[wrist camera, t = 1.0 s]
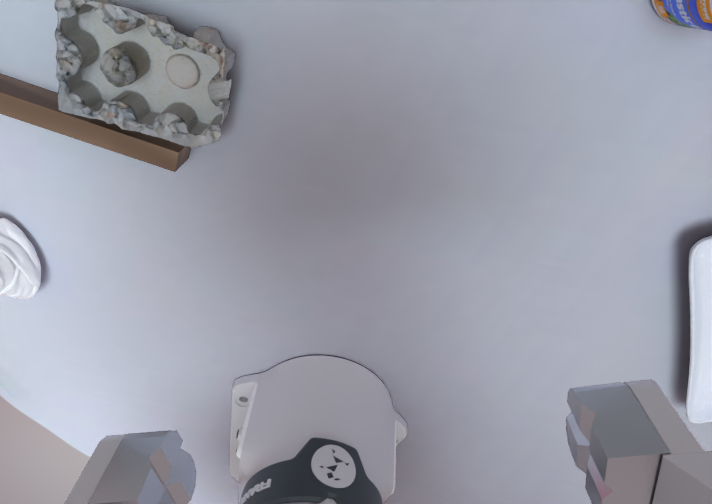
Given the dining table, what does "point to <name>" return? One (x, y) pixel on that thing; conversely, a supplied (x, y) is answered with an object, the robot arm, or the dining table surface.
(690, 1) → the pill bottle
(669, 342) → the dining table surface
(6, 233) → the white crumpled cloth
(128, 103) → the egg carton
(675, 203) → the dining table surface
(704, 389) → the salad plate
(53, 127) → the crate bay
